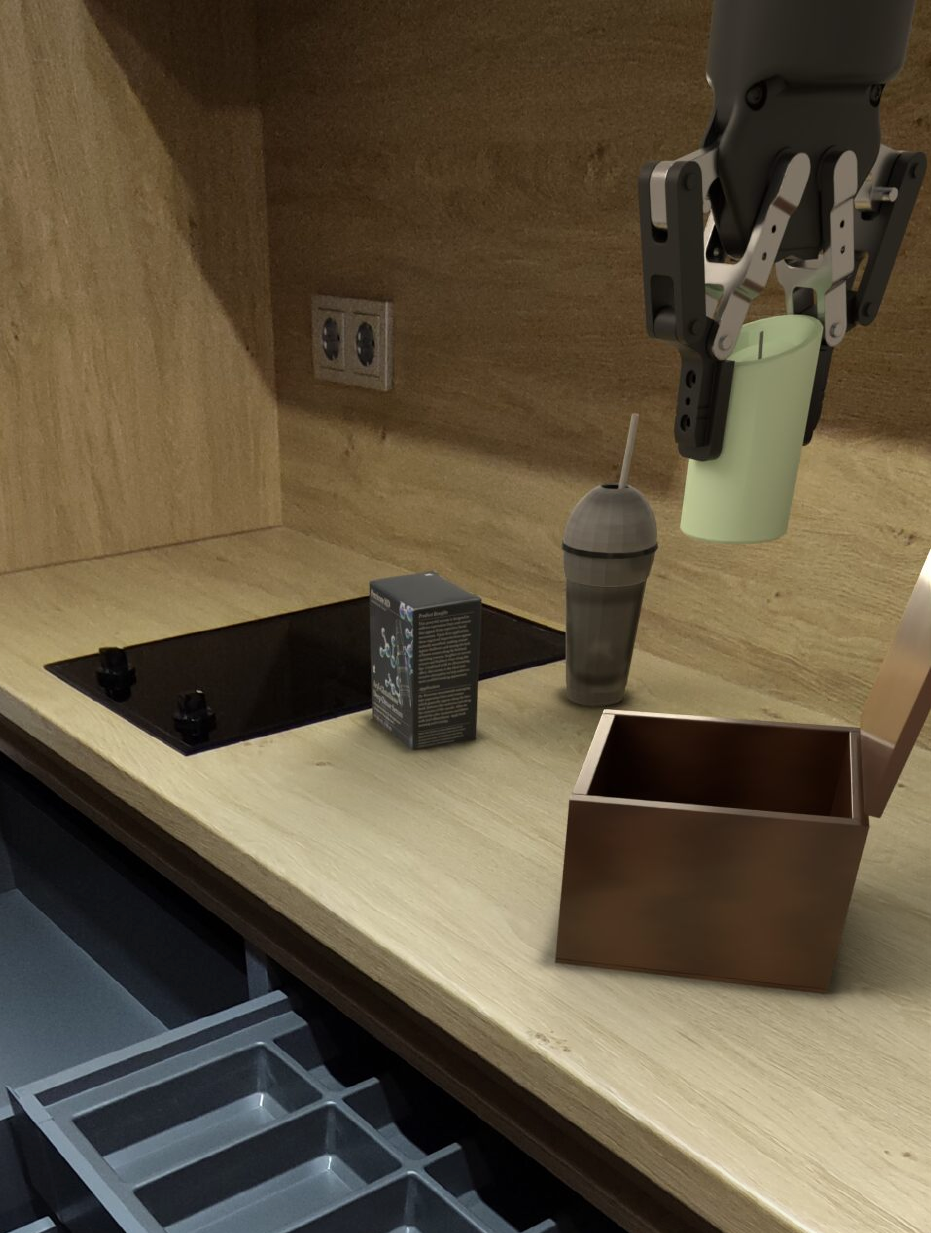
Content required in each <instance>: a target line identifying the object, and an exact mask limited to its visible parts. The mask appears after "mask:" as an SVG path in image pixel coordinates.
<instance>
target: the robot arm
mask: <svg viewBox="0 0 931 1233" xmlns="http://www.w3.org/2000/svg"><path fill="white" fill-rule="evenodd" d="M712 3H713V4H712V13H711V21H710V30H709V31H710V32H709V37H708V48H707V55H706V57H707V58H706V64H705V78H706V81H707V82H708V85H709V86H710V87H711V88H712V90H713V106H712V109H711V114H710V117H709V120H708V123H707V126H706V128H705V131H704V133H703V135H702V137H701V140H700V143H699V147H698V149H696V150H695V151H692V152H690V153H688V154H685V155H684V156H681V157H679V158H677V159H674V160H648V161H647V162H645V164H644V165H643V166H642V167H641V169H640V172H639V175H638V179H637V192H638V194H637V195H638V196H637V198H638V210H639V211H638V212H639V213H638V214H639V229H640V243H641V244H640V246H641V247H640V248H641V262H642V275H643V276H642V278H643V295H644V297H643V298H644V311H645V313H644V314H645V328H646V333H647V335H648V337H649V338H650V339H651V340H655V341H660V342H663V343H665V344H667V345H669V346H671V347H673V348H675V349H676V350H677V351H678V353H679V356H680V360H681V365H680V366H681V367H680V374H679V383H678V390H677V391H678V392H677V398H676V402H677V404H676V409H675V414H676V415H675V416H674V417H675V418H674V424H673V434H674V442H675V444H677V450H678V453H679V455H680V457H682V458H685V459H688V460H689V459H693V460H697V461H701V462H704V461H710V460H716V459H717V458H718V457H719V456H720V455H721V452H722V447H723V440H724V433H725V427H726V420H727V413H728V406H729V399H730V392H731V385H732V378H733V371H734V364H735V361H732V360H726V359H727V358H728V357H729V356H730V355H731V354H732V352H733V350H734V348H735V345H736V342H737V340H738V337H739V334H740V331H741V328H742V325H744V323H745V320H746V317H747V315H748V311H749V308H750V307H751V304H752V302H753V301H754V299H755V298H757V297H759V296H760V295H761V294H762V293H763V291H764V289H765V287H766V285H767V282H768V279H769V276H770V274H771V271H772V269H773V265H774V267H775V278H776V280H777V282H778V284H779V285H780V287H782V289H783V291H784V301H785V315H806V316H811V317H814V318H816V319H818V320H820V322H821V324H822V325H823V327H824V328H823V333H822V339H821V344H820V350H819V356H818V361H817V367H816V372H815V378H814V383H813V389H812V394H811V400H810V405H809V411H808V417H807V422H806V428H805V433H804V439H803V444H802V447H806V446H808V445H809V444H810V443H811V441H812V439H813V435H814V431H816V429H817V426H818V424H819V421H820V419H821V417H822V412H823V406H824V401H825V394H826V389H827V384H828V379H829V372H830V369H831V368H830V367H831V362H832V357H833V354H834V350H835V347H836V346H838V345H840V343H841V342H842V341H843V339H844V337H845V335H846V334H847V333H848V332H850V331H851V330H853V329H854V328H856V327H857V326H860V327H868V326H870V325H871V324H872V323H873V322H874V321H875V319H876V318H877V315H878V313H879V310H880V308H881V304H882V302H883V299H884V296H885V293H886V290H887V287H888V284H889V281H890V278H891V276H892V273H893V269H894V266H895V264H896V260H897V258H898V254H899V252H900V249H901V246H902V244H903V240H904V238H905V234H906V232H907V229H908V226H909V223H910V221H911V216H912V214H913V212H914V209H915V205H916V202H917V200H918V196H919V193H920V191H921V188H922V184H923V182H924V179H925V176H926V173H927V168H928V158H927V156H926V154H925V153H924V152H923V151H910V150H896V149H894V148H892V147H890V146H888V145H886V144H884V143H882V128H881V119H880V118H881V117H880V114H881V113H880V111H881V110H880V109H881V99H882V94H883V91H884V89H885V87H886V85H887V84H889V83H891V82H893V81H894V80H896V78H897V77H898V76H899V75H900V73H901V72H902V70H903V68H904V66H905V62H906V57H907V51H908V48H909V43H910V42H909V41H910V37H911V31H912V26H913V20H914V14H915V12H916V11H915V10H916V5H917V0H713V2H712ZM708 214H709V215H708ZM706 215H708V217H707V221H706V223H705V227H704V216H706ZM727 256H729V262H735V263H726V259H727ZM866 258H867V260H866V263H865V264H866V265H865V267H864V271H863V273H862V276H861V280H860V281H859V285H858V288H857V290H855V289H853V287H854V284H855V280H856V278H857V275H858V272H859V269H860V265H861V264H862V261H863V260H864V259H866ZM814 292H815V293H814ZM815 294H816V303H815ZM719 301H720V303H719ZM718 304H719V305H718ZM717 306H718V309H717ZM716 309H717V311H716ZM715 312H716V314H715ZM714 316H715V318H714Z"/></svg>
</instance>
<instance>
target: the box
mask: <svg viewBox="0 0 931 1233" xmlns="http://www.w3.org/2000/svg"><path fill="white" fill-rule="evenodd" d="M368 585H369V629H370V630H369V633H370V670H371V672H370V673H371V713H372V714H371V719H372V720H373V721H374V722H376V724H378V725H380V726H381V727H382V728H384V729H385V730H386V731H388V733H390V734H391V735H392V736H394V737H395V738H396V739H397V740H399V741H400V742H402V743H403V744H404V745H405V746H406V747H407V748H408V749H410V751H419V750H424V749H429V748H434V747H440V746H445V745H451V744H457V743H461V742H468V741H473V740H476V739H477V728H478V727H477V726H478V699H479V673H480V650H481V649H480V648H481V621H482V601H483V600H482V597H480V596H479V595H477V594H476V593H472V592H470V591H469V590H467V589H465V588H463V587H461V586H459V585H457V584H456V583H453V582H452V581H451V580H448V579H446V578H444V576H442V575H440V574H439V573H438V572H436V571H435V570H429V571H424V572H417V573H410V574H403V575H396V576H388V577H383V578H378V579H373V580H370V581H369V584H368Z"/></svg>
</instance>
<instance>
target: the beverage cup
mask: <svg viewBox="0 0 931 1233" xmlns="http://www.w3.org/2000/svg"><path fill="white" fill-rule="evenodd" d="M639 417H640V414H639V413H631V418H630V424H629V427H628V428H629V429H628V433H627V438H626V439H627V440H626V445H625V450H624V456H623V460H622V466H621V470H620V477H619V482H607V483H603V484H600V485H598V486H595V487H594V488H592V489H590V490H589V491H588V492H587V493H586V494H585V495H584V496H582V497H581V498H580V499H579V500H578V502H577V503H576V504H575V505H574V507H573V509H572V511H571V513H570V515H569V517H568V520H567V522H566V525H565V529H564V534H563V539H562V541H561V545H560V546H561V550H562V563H563V573H564V577H565V685H566V686H565V687H566V697H567V699H568V700H570V702H573V703H575V704H579V705H582V706H590V707H603V706H605V707H606V706H612V705H615V704H618V703H619V702H621V701H623V697H624V695H625V690H626V687H627V685H628V679H629V674H630V670H631V664H632V659H633V655H634V648H635V644H636V640H637V639H636V638H637V633H638V628H639V622H640V618H641V613H642V608H643V603H644V597H645V592H646V587H647V581H648V579H649V577H650V575H651V571H652V569H653V565H654V561H655V556H656V555H655V554H656V552H657V551H658V549H659V544H658V528H657V527H658V526H657V521H656V516H655V513H654V511H653V508H652V506H651V505H650V502H649V501H648V499H647V498H646V497H645V495H644V494H643V493H642V492H641V491H640V490H638V489H637V488H636V487H635V486H634V487H633V486H632V485H631V484H627V483H628V477H629V471H630V466H631V462H632V456H633V451H634V444H635V439H636V435H637V429H638V422H639Z"/></svg>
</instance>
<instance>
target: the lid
mask: <svg viewBox="0 0 931 1233" xmlns="http://www.w3.org/2000/svg"><path fill="white" fill-rule="evenodd" d="M867 696H868V697H867V699H866V701H865V703H864V706H863V707H862V711H861V713H860V716H859V725H860V727H859V728H861V748H862V768H863V789H864V809H865V815H868V816H869V817H873V818H876V819H881V818H882V816H883V814H884V812H885V809H886V807H887V806H888V803H889V801H890V799H891V796H892V795H893V792H894V790H895V788H896V786H897V783H898V781H899V779H900V777H901V775H902V773H903V771H904V768H905V766H906V764H907V762H908V759H909V757H910V755H911V753H912V751H913V749H914V747H915V744H916V742H917V740H918V739H919V736H920V733H921V731H922V729H923V727H924V725H925V723H926V721H927V719H928V716H929V714H930V713H931V712H930V711H931V549H930V550H929V552H928V554H927V557H926V559H925V562H924V564H923V566H922V568H921V571H920V573H919V575H918V578H917V580H916V583H915V585H914V587H913V590H912V592H911V594H910V597H909V599H908V602H907V604H906V607H905V609H904V610H903V613H902V616H901V618H900V620H899V623H898V624H897V628H896V630H895V632H894V635H893V637H892V639H891V642H890V644H889V647H888V649H887V651H886V653H885V655H884V658H883V661H882V663H881V666H880V668H879V670H878V673H877V675H876V677H875V680H874V682H873V684H872V687H871V689H870V691H869V694H868V695H867Z"/></svg>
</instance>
